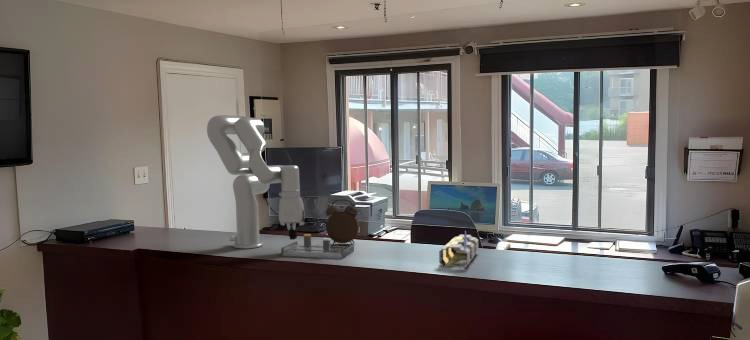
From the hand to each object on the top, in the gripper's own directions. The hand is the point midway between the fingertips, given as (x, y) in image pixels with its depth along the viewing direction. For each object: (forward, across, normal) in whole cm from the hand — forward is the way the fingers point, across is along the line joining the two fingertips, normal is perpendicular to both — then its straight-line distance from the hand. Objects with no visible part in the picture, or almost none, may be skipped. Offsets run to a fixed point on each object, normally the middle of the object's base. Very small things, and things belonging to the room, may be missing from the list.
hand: (293, 238), depth 229 cm
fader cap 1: (+3, +6, 0) cm, 7 cm away
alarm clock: (+6, +16, +17) cm, 24 cm away
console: (+5, +12, -3) cm, 14 cm away
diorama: (+8, +69, -4) cm, 70 cm away
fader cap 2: (+3, +17, -7) cm, 19 cm away
